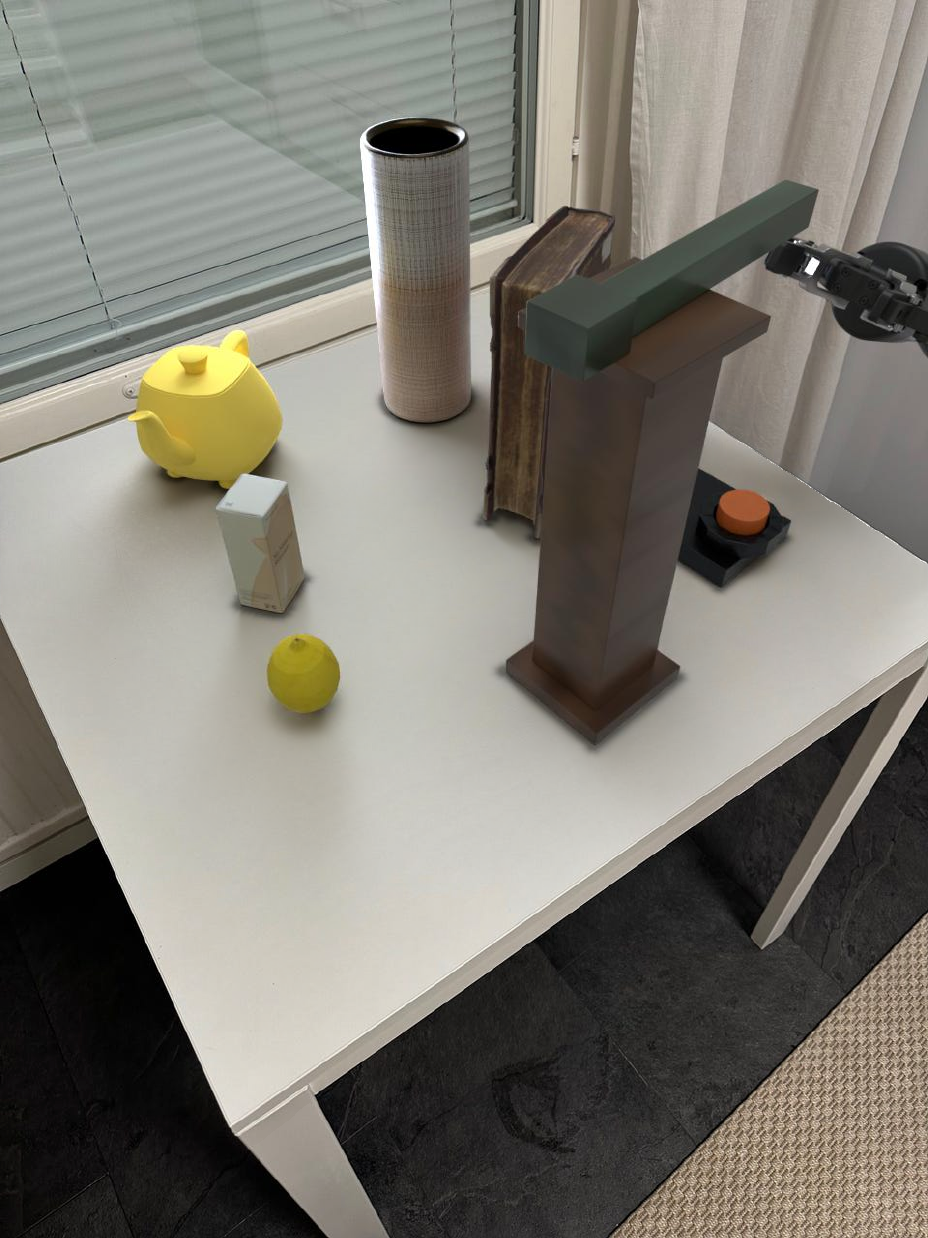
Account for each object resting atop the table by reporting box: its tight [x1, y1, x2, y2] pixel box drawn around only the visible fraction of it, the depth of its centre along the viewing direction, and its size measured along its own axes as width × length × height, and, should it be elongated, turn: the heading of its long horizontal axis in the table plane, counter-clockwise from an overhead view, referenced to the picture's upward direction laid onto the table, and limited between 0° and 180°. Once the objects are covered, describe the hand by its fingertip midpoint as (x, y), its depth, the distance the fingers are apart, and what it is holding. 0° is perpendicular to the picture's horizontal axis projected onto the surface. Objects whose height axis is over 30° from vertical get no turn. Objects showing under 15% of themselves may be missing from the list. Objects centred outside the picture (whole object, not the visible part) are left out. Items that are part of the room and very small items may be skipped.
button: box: [716, 489, 770, 535], centre depth 80 cm, size 4×4×2 cm
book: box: [482, 205, 616, 539], centre depth 81 cm, size 17×7×25 cm, turn 150°
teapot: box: [126, 329, 284, 490], centre depth 89 cm, size 13×20×12 cm
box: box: [215, 473, 306, 614], centre depth 77 cm, size 5×4×11 cm
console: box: [677, 467, 792, 588], centre depth 84 cm, size 13×10×4 cm
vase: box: [360, 116, 472, 424], centre depth 91 cm, size 10×10×28 cm
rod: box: [525, 179, 820, 382], centre depth 51 cm, size 4×24×3 cm, turn 136°
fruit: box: [266, 633, 341, 714], centre depth 69 cm, size 6×6×8 cm
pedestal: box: [505, 256, 772, 746], centre depth 62 cm, size 10×10×32 cm
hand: (826, 280), depth 62 cm, fingers open, 8 cm apart
